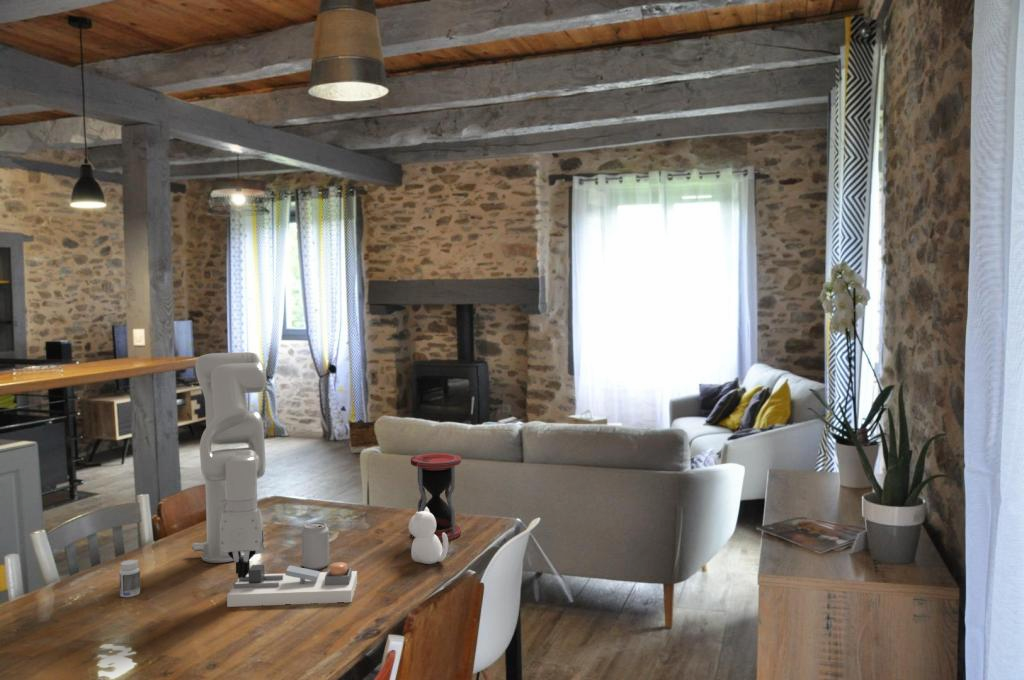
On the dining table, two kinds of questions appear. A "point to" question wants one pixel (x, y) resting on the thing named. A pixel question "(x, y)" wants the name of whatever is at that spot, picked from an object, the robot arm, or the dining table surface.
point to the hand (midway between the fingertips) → (242, 575)
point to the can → (315, 545)
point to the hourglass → (438, 490)
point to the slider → (256, 574)
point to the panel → (293, 590)
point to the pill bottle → (129, 578)
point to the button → (338, 569)
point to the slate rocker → (302, 573)
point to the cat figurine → (426, 539)
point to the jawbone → (333, 535)
